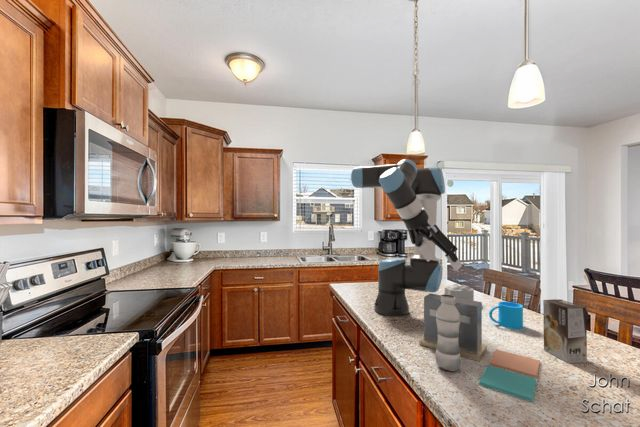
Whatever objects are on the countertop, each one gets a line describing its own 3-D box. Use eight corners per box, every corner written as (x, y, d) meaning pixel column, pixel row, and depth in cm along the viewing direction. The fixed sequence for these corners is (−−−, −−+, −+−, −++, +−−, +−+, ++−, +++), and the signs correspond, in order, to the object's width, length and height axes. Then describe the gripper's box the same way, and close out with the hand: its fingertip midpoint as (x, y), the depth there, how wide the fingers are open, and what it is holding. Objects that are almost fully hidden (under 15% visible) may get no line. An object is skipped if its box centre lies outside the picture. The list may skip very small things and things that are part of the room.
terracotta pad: (489, 365, 85) (489, 362, 85) (496, 351, 94) (496, 349, 94) (536, 378, 78) (536, 375, 78) (539, 362, 87) (539, 360, 87)
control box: (419, 344, 99) (419, 297, 99) (429, 335, 106) (429, 291, 107) (479, 361, 87) (480, 308, 87) (486, 350, 95) (486, 301, 95)
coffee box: (588, 362, 87) (588, 307, 87) (568, 363, 87) (568, 307, 87) (560, 349, 96) (560, 298, 96) (542, 349, 96) (542, 299, 96)
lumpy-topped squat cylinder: (442, 300, 152) (442, 283, 152) (466, 299, 153) (466, 282, 154) (452, 306, 142) (453, 288, 142) (478, 305, 143) (479, 287, 143)
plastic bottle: (450, 376, 79) (450, 300, 79) (429, 365, 85) (430, 294, 85) (466, 371, 82) (466, 297, 82) (445, 360, 88) (446, 292, 88)
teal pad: (478, 384, 75) (478, 381, 75) (487, 367, 84) (487, 364, 84) (532, 402, 68) (532, 398, 68) (536, 381, 77) (536, 378, 77)
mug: (515, 322, 121) (516, 301, 121) (527, 329, 113) (527, 308, 113) (484, 320, 122) (484, 300, 122) (494, 328, 114) (494, 306, 114)
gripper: (447, 207, 84) (481, 264, 89) (399, 204, 108) (427, 249, 113) (429, 223, 83) (463, 281, 88) (384, 217, 107) (413, 262, 111)
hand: (443, 263), depth 100 cm, fingers open, 13 cm apart
